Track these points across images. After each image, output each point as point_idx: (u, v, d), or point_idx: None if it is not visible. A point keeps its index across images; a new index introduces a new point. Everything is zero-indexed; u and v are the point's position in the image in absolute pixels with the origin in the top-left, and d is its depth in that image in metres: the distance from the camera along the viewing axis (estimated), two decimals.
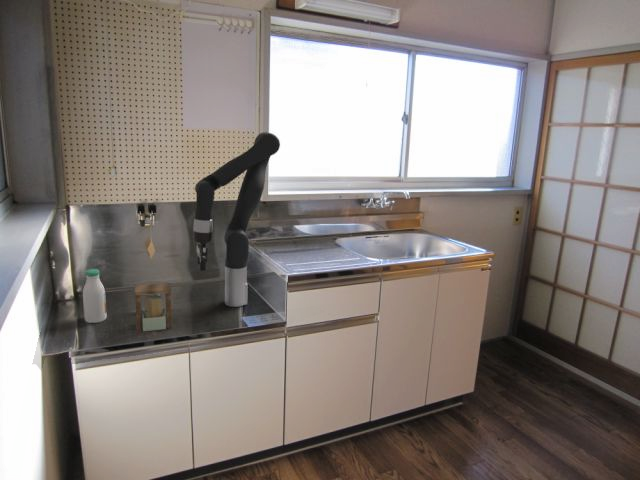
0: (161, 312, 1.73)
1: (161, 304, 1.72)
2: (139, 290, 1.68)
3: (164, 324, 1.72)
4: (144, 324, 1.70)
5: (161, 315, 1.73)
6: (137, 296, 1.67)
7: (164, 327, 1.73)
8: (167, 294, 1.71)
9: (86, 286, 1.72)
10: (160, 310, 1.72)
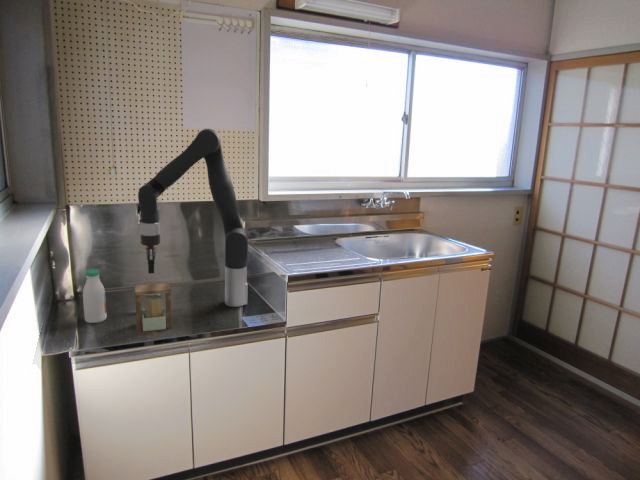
0: (161, 312, 1.73)
1: (161, 304, 1.72)
2: (139, 290, 1.68)
3: (164, 324, 1.72)
4: (144, 324, 1.70)
5: (161, 315, 1.73)
6: (137, 296, 1.67)
7: (164, 327, 1.73)
8: (167, 294, 1.71)
9: (86, 286, 1.72)
10: (160, 310, 1.72)
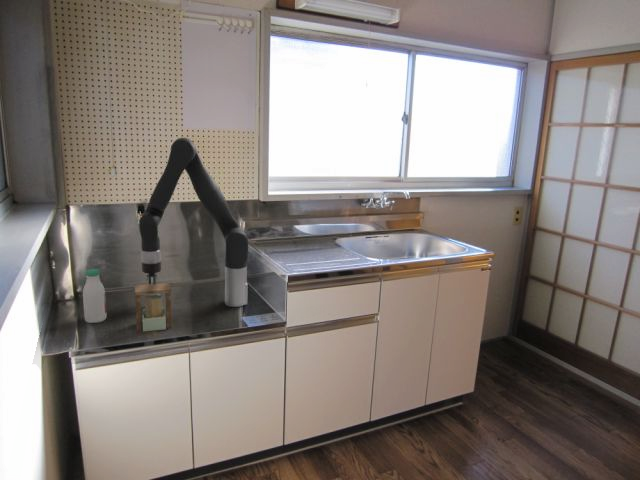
0: (161, 312, 1.73)
1: (161, 304, 1.72)
2: (139, 290, 1.68)
3: (164, 324, 1.72)
4: (144, 324, 1.69)
5: (161, 315, 1.73)
6: (137, 296, 1.67)
7: (164, 327, 1.72)
8: (167, 294, 1.71)
9: (86, 286, 1.72)
10: (160, 310, 1.72)
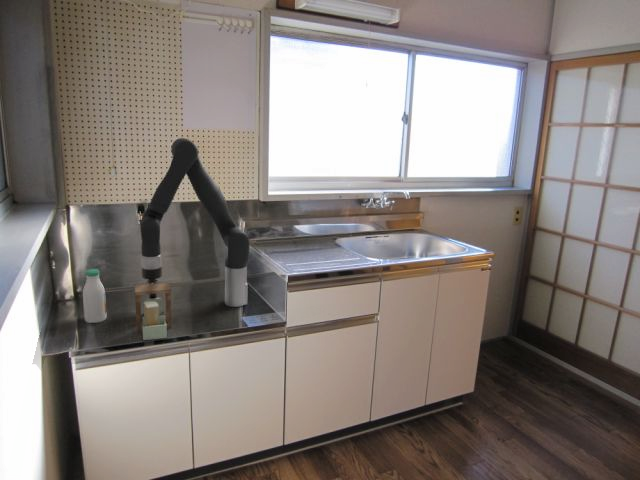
0: (157, 321, 1.66)
1: (157, 312, 1.65)
2: (139, 290, 1.68)
3: (165, 332, 1.66)
4: (144, 333, 1.63)
5: (157, 324, 1.66)
6: (137, 296, 1.67)
7: (165, 335, 1.66)
8: (167, 294, 1.71)
9: (86, 286, 1.72)
10: (156, 318, 1.65)
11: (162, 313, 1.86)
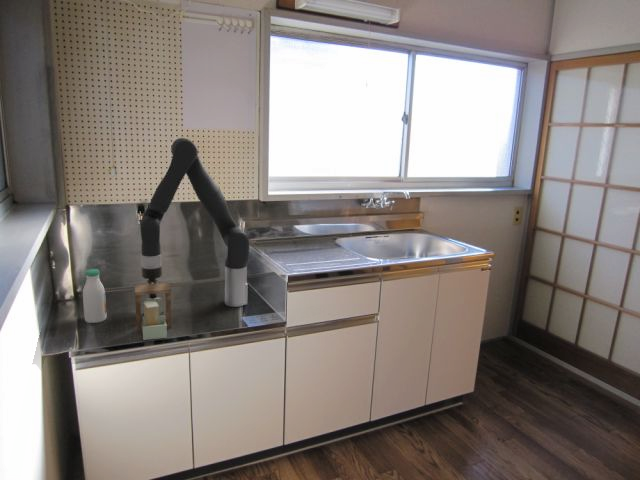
0: (157, 321, 1.66)
1: (157, 312, 1.65)
2: (139, 290, 1.68)
3: (165, 332, 1.66)
4: (144, 332, 1.63)
5: (157, 324, 1.66)
6: (137, 296, 1.67)
7: (165, 335, 1.66)
8: (167, 294, 1.71)
9: (86, 286, 1.72)
10: (156, 318, 1.65)
11: (162, 313, 1.86)
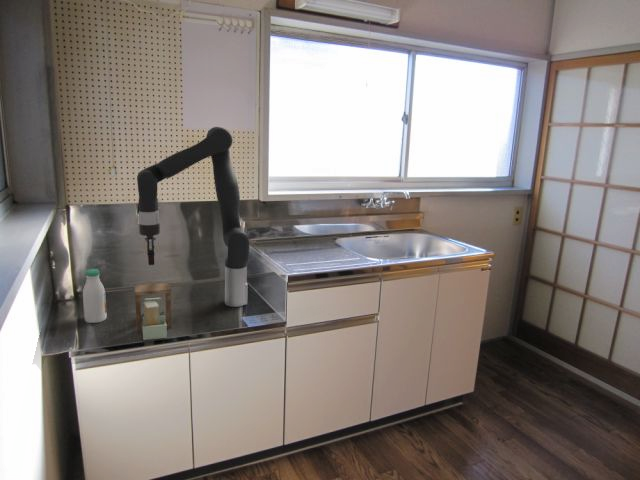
0: (157, 321, 1.66)
1: (157, 312, 1.65)
2: (139, 290, 1.68)
3: (165, 332, 1.66)
4: (144, 332, 1.63)
5: (157, 324, 1.66)
6: (137, 296, 1.67)
7: (165, 335, 1.66)
8: (167, 294, 1.71)
9: (86, 286, 1.72)
10: (156, 318, 1.65)
11: (162, 313, 1.86)
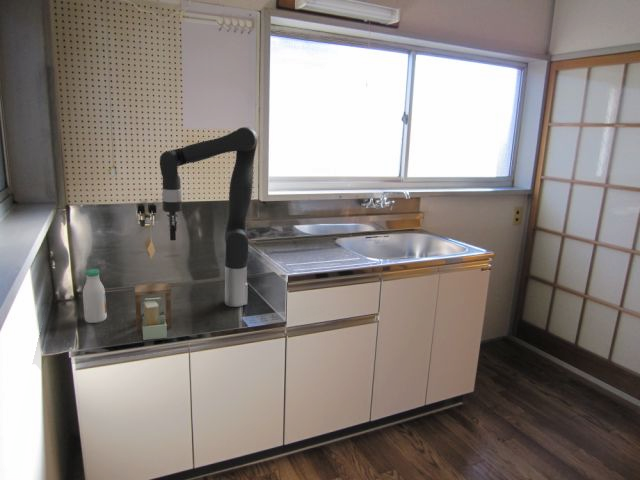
0: (157, 321, 1.66)
1: (157, 312, 1.65)
2: (139, 290, 1.68)
3: (165, 332, 1.66)
4: (144, 332, 1.63)
5: (157, 324, 1.66)
6: (137, 296, 1.67)
7: (165, 335, 1.66)
8: (167, 294, 1.71)
9: (86, 286, 1.72)
10: (156, 318, 1.65)
11: (162, 313, 1.86)
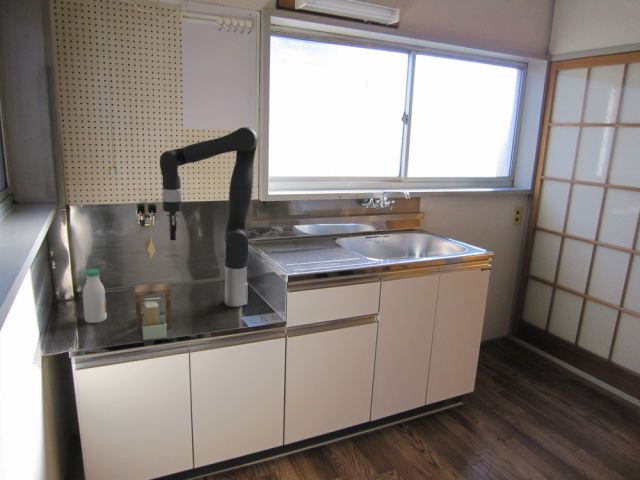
0: (157, 321, 1.66)
1: (157, 312, 1.65)
2: (139, 290, 1.68)
3: (165, 332, 1.66)
4: (144, 332, 1.63)
5: (157, 324, 1.66)
6: (137, 296, 1.67)
7: (165, 335, 1.66)
8: (167, 294, 1.71)
9: (86, 286, 1.72)
10: (156, 318, 1.65)
11: (162, 313, 1.86)
